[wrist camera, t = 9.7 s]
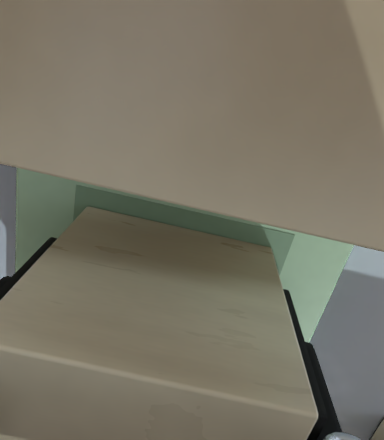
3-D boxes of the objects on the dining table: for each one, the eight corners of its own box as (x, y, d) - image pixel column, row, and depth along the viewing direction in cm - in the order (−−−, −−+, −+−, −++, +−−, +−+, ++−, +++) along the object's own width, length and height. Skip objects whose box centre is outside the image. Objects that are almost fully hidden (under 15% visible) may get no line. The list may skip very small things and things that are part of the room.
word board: (42, -256, 7) (19, -297, 6) (509, -138, 7) (545, -163, 6) (20, 468, 16) (10, 488, 15) (222, 511, 16) (222, 533, 15)
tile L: (86, 204, 9) (-41, 339, 5) (272, 246, 10) (321, 416, 5) (71, 347, 11) (-27, 536, 7) (225, 380, 12) (229, 589, 7)
